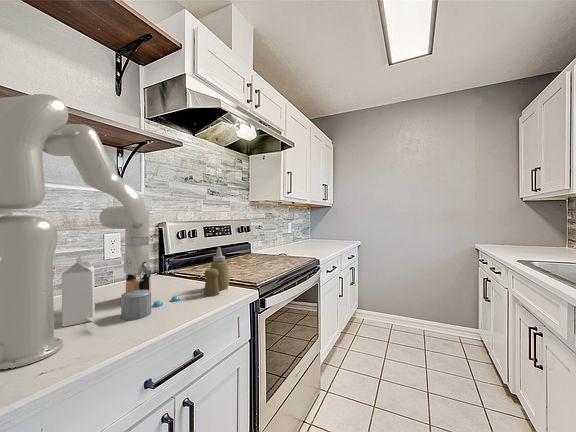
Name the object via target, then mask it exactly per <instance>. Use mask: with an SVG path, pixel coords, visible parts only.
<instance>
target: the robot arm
mask: <svg viewBox="0 0 576 432" xmlns="http://www.w3.org/2000/svg"><path fill="white" fill-rule="evenodd" d="M68 120H69V110H68V107H67V105H66V103H65V102H64V101H63V100H61V98H58V97H57V96H55V95H51V94H48V93H46V94H45V93H36V94H35V93H34V94H25V95H18V96H17V95H16V96H7V97H0V369H4V370H9V369H8V368H11V369H15V367H16V368H21V367H24V366H27V365H29V364H30V365H31V364H34V363H36V362H39V361H41V360H44V359H46V358H49V357H50V356H53V354H56V353H57V352H58V351H60V350H61V349H62V348H63V345H64V341H63V339H62V338H61V337H58V336H55V313H54V309H55V308H54V307H55V306H54V258H55V253H56V249H57V245H58V238H59V237H58V236H59V235H58V230H57V228H56V226H55V225H54V224H53V223H52V222H51V221H50V220H47V219H46V218H44V217H41V216H37V215H27V214H26V215H25V214H24V215H22V214H21V215H19V214H17V215H16V214H15V215H13V214H14V213H13V210H14V211H15V210H28V209H33V208H35V207H38V206H39V205H41V204H42V203H43V202H44V200H45V197H46V185H45V174H44V173H45V172H44V162H43V153H45V154H47V155H52V156H54V157H70V159H71V161H72V163H73V164H74V166H75V168H76V170H77V171H78V173H79V175H80V177H81V179H82V180H83V182H84V183H85V185H87V186H88V187H90V188H93V189H95V190H98V191H99V192H103V193H105V194H108V195H110V196H111V197H113V198H115V199H116V200H117V201H119V202H120V203H121V204H122V205H120V206H119V205H118V206H115V205H114V206H109V207H106V208H104V209H102V211H101V212H100V213H99V218H98V219H99V223H101V225H102V226H103V227H104V228H107V229H111V230H124V237H125V238H124V239H125V240H124V246H125V249H124V258H123V273H125V282H126V281H128V280H131V279H137V276H138V278H140V281H139V290H149V280H150V279H151V276H152V274H151V273H152V268H151V266H150V265H151V264H150V263H151V262H150V260H151V259H150V251H149V249H150V248H149V246H150V212H149V211H150V210H149V209H147V207H146V204H145V202H144V200H143V197H142V196H141V194H139V192H138V191H137V190H136V189H135V188H134V187H133V186H132V185H131V183H129V182H127V181H126V180H125V179H123V178H122V177H121V176H120V175H118V174H117V172H116V171H115V169H114V166H113V164H112V162H111V160H110V158H109V156H108V154H107V152H106V149H105V147H104V145H103V143H102V141H101V138H100V137H99V135H98V133H97V132H96V130H95V129H94V128H92V127H91V126H89V125H87V124H81V123H73V124H72V123H69V124H67V122H68ZM6 368H7V369H6Z"/></svg>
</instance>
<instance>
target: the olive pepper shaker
mask: <svg viewBox="0 0 576 432" xmlns="http://www.w3.org/2000/svg"><path fill="white" fill-rule="evenodd" d="M203 275H204V278H205V284H204V291H203V296H204V297H206V298H207V297H209V298H211V297H216V296H219V295H220V291H219V287H218V280H217V277H218V275H219V272H218V270H217V269H210V268H208V269H206V270H204V273H203Z"/></svg>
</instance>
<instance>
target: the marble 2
mask: <svg viewBox="0 0 576 432" xmlns="http://www.w3.org/2000/svg"><path fill="white" fill-rule="evenodd" d="M180 301H181V298H180V296H178V295H174V296H172V297H171V299H170V302H171V303H175V302H176V303H177V302H180Z"/></svg>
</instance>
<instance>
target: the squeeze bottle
mask: <svg viewBox="0 0 576 432" xmlns="http://www.w3.org/2000/svg"><path fill="white" fill-rule="evenodd" d="M209 269H217V270H218V272H219V275H218V277H217V280H218V287H219V292H220V291H224V290H228V288H229V284H230V276H229V275H230V274H229V267H228V262H227V260H226V256H225V255H223V253H222V249H221V247H220V246H219V247H217V248H216V254H215V255H214V256H213V257H212V261H211V262H210V268H209Z"/></svg>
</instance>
